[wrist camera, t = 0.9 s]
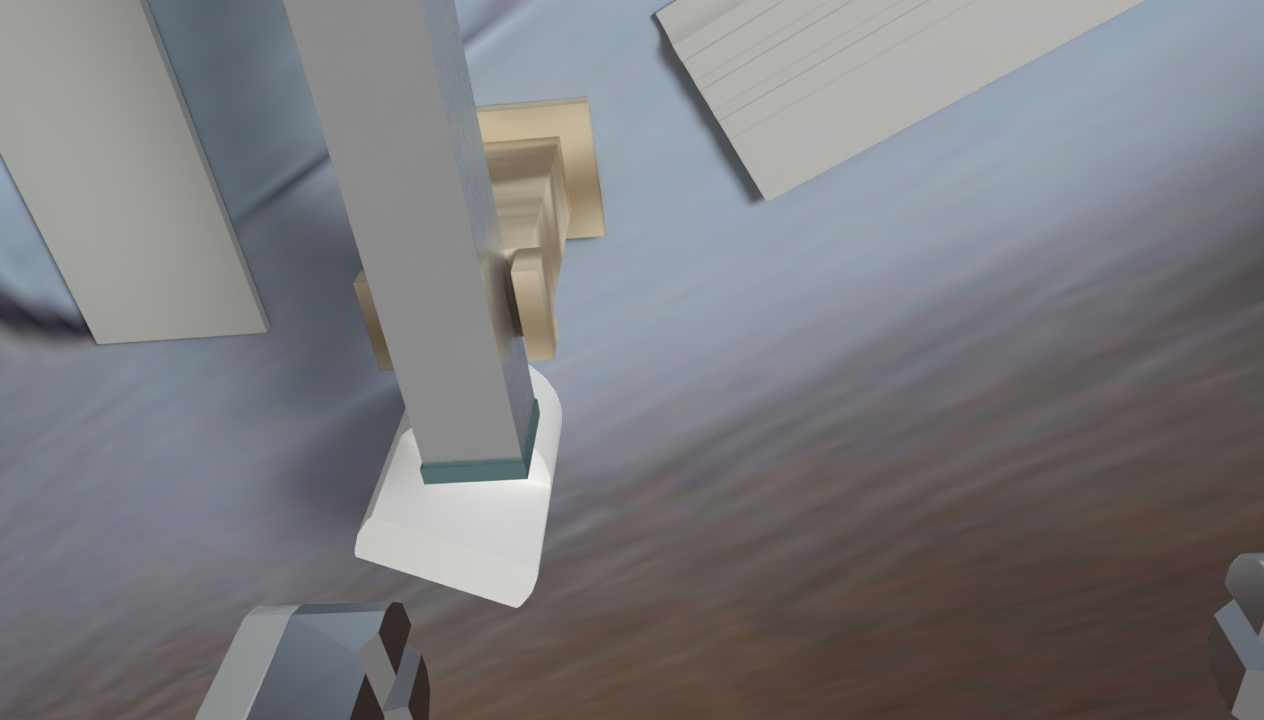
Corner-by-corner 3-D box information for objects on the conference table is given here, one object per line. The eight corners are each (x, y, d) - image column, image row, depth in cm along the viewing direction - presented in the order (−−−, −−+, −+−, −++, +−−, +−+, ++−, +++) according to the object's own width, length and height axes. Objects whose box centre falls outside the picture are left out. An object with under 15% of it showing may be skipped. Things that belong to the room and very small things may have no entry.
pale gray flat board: (-281, -425, 35) (-294, -426, 35) (-29, -463, 35) (-40, -465, 34) (102, 338, 55) (97, 344, 54) (270, 326, 54) (267, 332, 53)
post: (403, 113, 46) (315, 250, 35) (587, 96, 46) (558, 231, 34) (435, 241, 50) (365, 401, 39) (605, 228, 50) (584, 388, 38)
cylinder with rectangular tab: (392, 440, 58) (335, 592, 49) (436, 327, 54) (381, 471, 44) (531, 487, 60) (502, 644, 50) (585, 383, 55) (565, 533, 46)
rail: (195, -492, 25) (117, -521, 21) (352, -516, 24) (299, -549, 21) (445, 418, 42) (424, 484, 38) (540, 413, 41) (527, 479, 38)
